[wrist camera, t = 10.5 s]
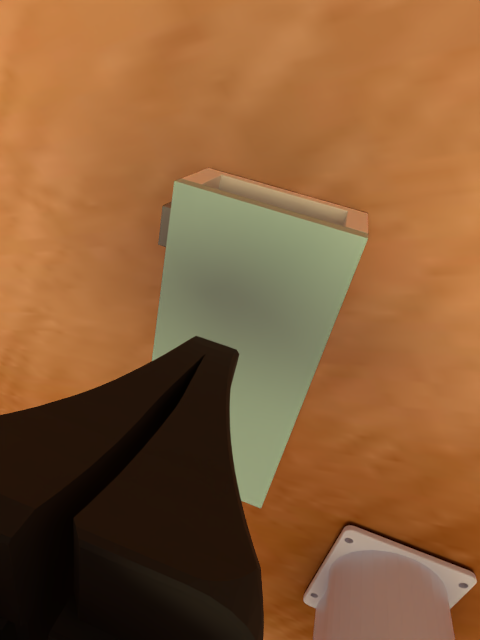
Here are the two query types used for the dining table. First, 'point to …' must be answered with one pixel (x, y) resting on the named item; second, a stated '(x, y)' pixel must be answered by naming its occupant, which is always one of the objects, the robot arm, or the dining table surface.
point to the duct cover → (254, 309)
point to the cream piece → (271, 201)
